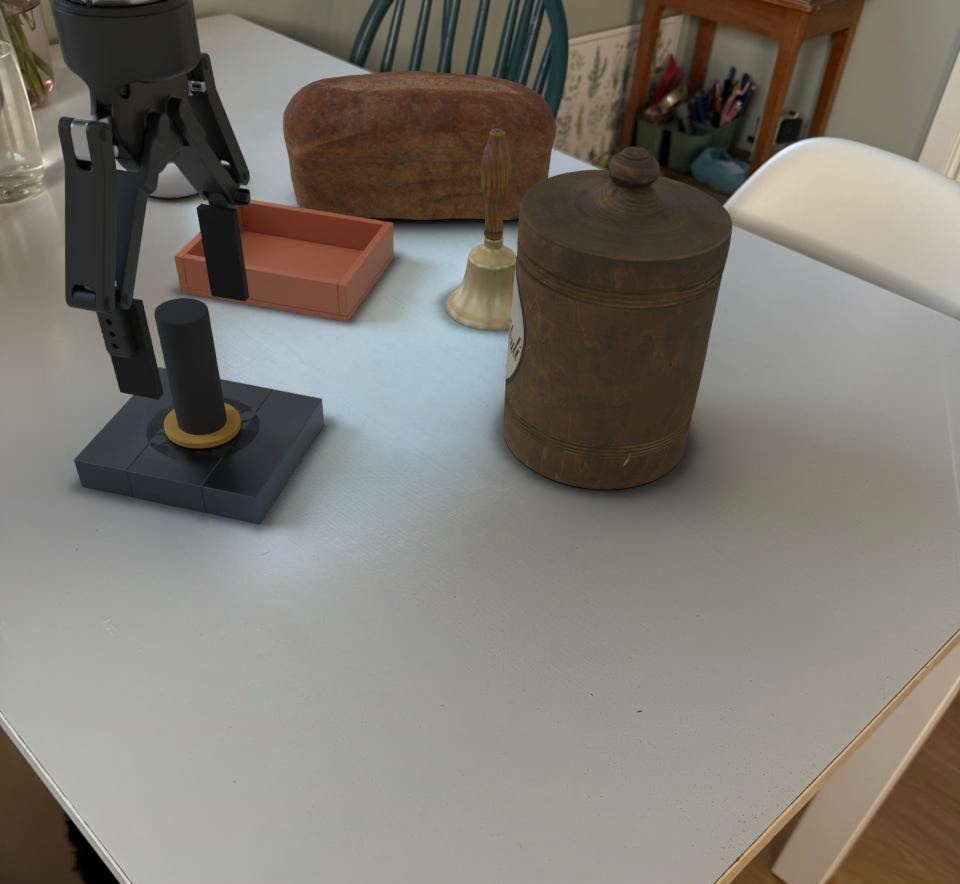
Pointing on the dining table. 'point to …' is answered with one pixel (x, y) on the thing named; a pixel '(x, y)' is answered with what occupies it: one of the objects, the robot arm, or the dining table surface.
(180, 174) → the donut
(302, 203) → the bread
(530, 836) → the dining table surface
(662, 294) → the wooden container
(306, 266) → the terracotta tray
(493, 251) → the hand bell
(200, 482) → the drain plate
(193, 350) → the plug
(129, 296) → the robot arm
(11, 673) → the dining table surface
